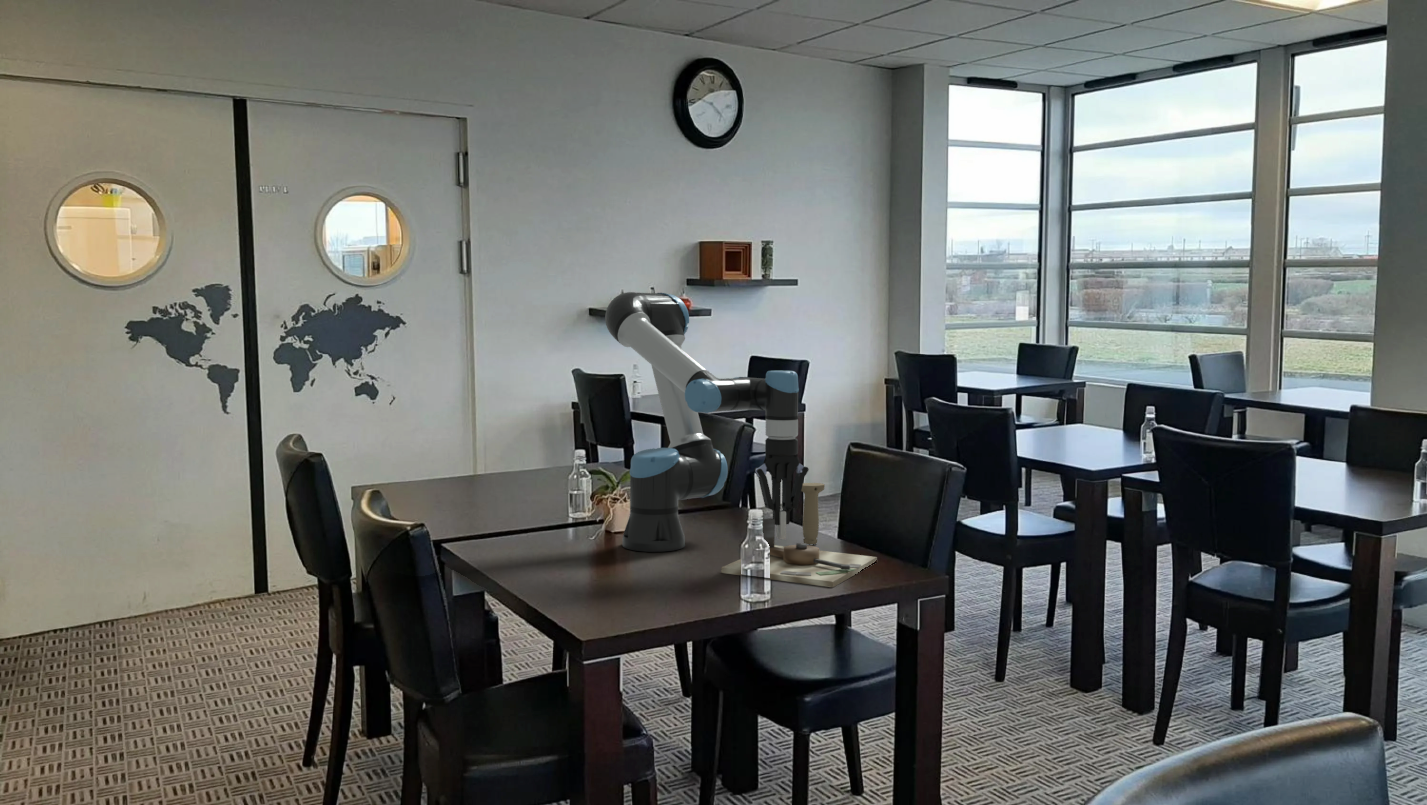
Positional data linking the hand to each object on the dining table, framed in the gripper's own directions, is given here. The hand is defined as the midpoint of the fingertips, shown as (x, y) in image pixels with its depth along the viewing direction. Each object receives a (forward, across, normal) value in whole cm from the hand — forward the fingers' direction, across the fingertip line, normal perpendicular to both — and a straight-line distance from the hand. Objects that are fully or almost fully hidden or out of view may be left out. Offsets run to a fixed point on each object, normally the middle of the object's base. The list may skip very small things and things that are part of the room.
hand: (781, 538), depth 258 cm
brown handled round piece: (+3, -1, +11) cm, 12 cm away
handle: (+5, -13, -13) cm, 19 cm away
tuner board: (+5, -1, +10) cm, 11 cm away
